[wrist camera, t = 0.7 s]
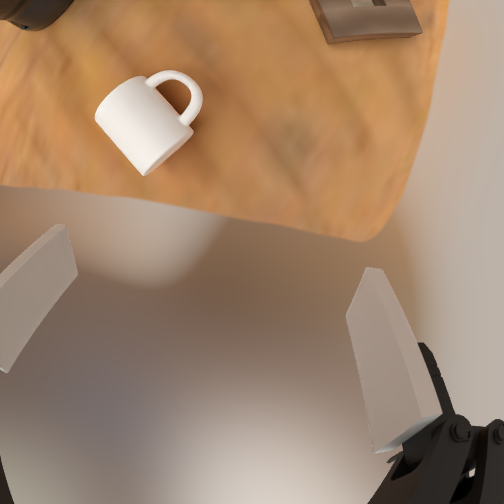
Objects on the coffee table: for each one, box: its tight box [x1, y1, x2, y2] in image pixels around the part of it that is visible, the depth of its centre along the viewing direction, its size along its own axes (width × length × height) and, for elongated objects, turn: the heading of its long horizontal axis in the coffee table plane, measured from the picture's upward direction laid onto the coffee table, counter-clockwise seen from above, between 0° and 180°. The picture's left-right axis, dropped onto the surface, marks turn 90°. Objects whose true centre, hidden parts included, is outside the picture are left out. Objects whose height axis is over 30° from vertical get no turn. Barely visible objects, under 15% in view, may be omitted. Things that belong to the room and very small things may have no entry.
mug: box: [95, 70, 203, 176], centre depth 27 cm, size 12×10×8 cm
